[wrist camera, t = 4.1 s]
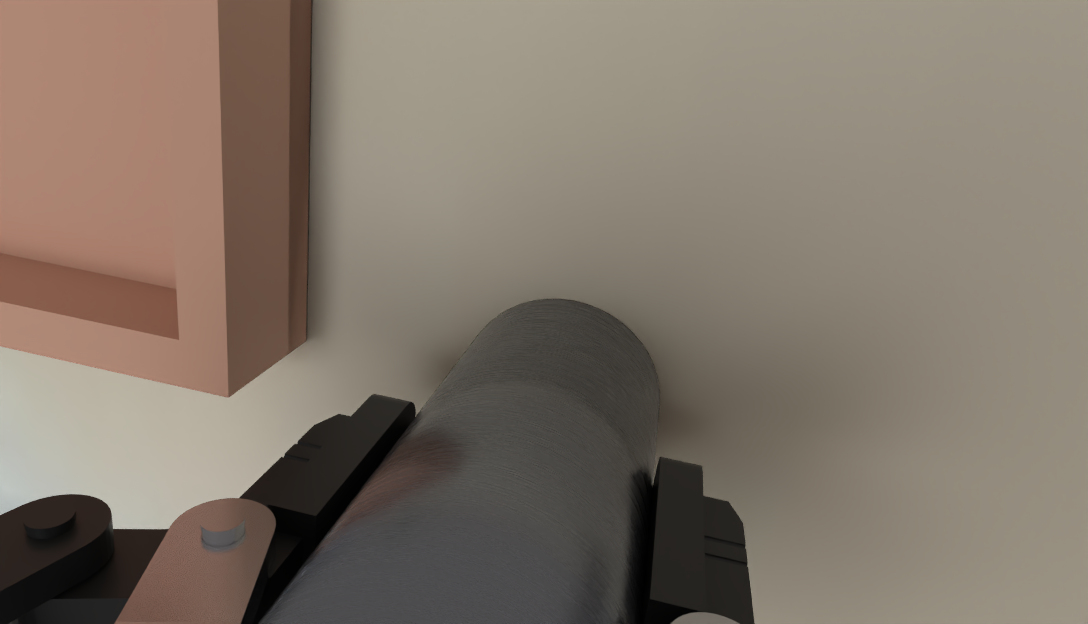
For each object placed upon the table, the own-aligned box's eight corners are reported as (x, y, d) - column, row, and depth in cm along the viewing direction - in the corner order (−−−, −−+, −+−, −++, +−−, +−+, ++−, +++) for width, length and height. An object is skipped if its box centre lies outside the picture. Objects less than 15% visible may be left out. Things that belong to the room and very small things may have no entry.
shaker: (684, 317, 15) (667, 1131, 4) (643, 503, 16) (545, 1460, 5) (468, 276, 15) (-124, 860, 4) (450, 460, 17) (-10, 1232, 6)
